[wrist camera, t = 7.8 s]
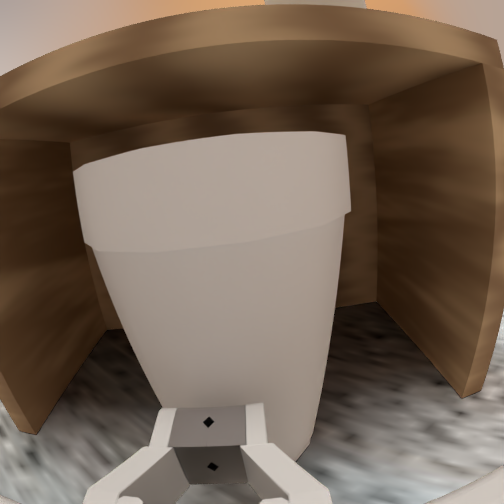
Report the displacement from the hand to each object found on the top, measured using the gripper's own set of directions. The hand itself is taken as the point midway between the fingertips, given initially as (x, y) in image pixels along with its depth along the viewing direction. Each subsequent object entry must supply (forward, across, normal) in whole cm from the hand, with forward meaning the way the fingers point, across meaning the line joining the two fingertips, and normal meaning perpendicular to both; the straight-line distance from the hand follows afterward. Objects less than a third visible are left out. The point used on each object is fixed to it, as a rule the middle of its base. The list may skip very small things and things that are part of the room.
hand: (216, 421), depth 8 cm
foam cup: (+5, 0, +6) cm, 7 cm away
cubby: (+11, 0, +6) cm, 12 cm away
